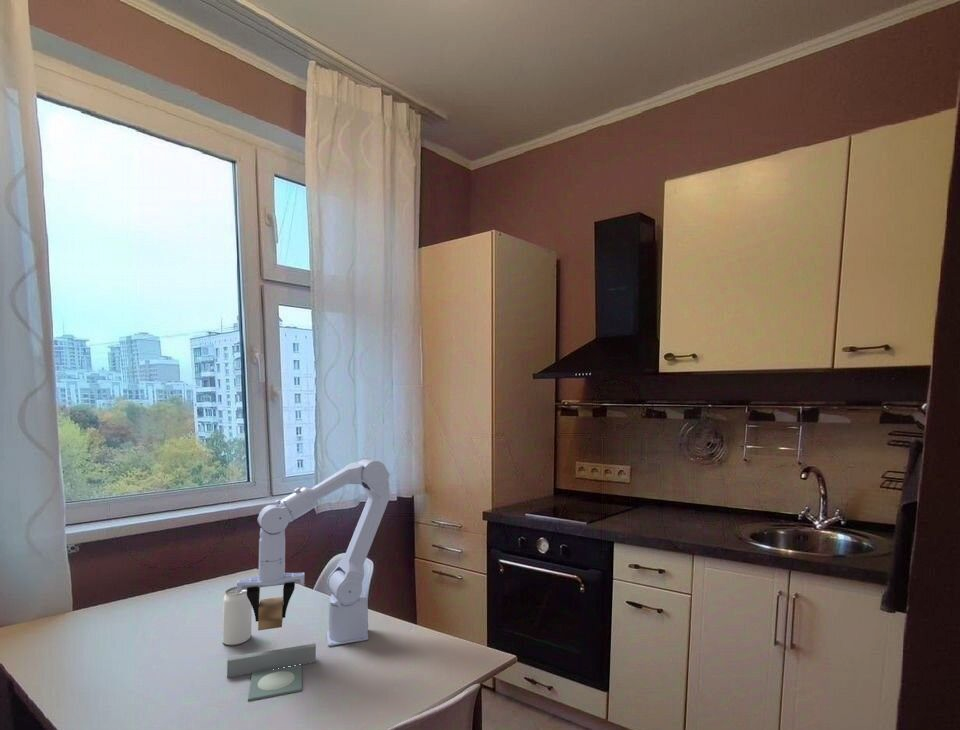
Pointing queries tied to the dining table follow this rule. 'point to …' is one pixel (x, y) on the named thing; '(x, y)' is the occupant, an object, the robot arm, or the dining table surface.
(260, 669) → the low wall
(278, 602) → the walnut block
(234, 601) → the can
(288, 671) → the mat
